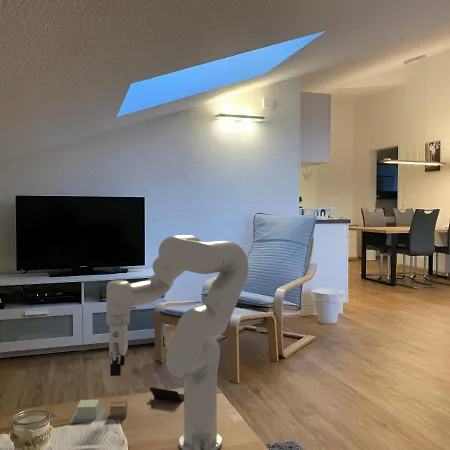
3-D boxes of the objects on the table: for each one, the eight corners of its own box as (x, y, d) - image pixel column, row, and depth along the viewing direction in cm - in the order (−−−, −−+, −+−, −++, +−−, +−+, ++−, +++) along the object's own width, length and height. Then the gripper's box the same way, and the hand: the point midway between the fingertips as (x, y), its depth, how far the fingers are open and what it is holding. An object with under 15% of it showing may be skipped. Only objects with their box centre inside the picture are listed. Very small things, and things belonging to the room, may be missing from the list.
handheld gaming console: (189, 390, 172) (181, 375, 166) (186, 408, 167) (178, 393, 161) (160, 392, 175) (151, 377, 169) (156, 410, 169) (147, 395, 163)
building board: (101, 423, 148) (101, 421, 148) (69, 425, 147) (69, 422, 147) (106, 410, 158) (106, 408, 158) (76, 412, 157) (76, 409, 157)
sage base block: (95, 418, 150) (95, 406, 150) (76, 419, 149) (76, 407, 149) (99, 411, 156) (99, 399, 156) (80, 411, 155) (80, 400, 155)
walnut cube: (125, 421, 150) (125, 405, 150) (109, 421, 150) (109, 406, 150) (127, 414, 155) (127, 399, 155) (112, 415, 155) (112, 400, 155)
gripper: (126, 324, 144) (126, 379, 144) (132, 312, 161) (132, 361, 162) (101, 325, 143) (101, 380, 144) (110, 312, 160) (110, 362, 161)
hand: (117, 370), depth 153 cm, fingers open, 9 cm apart
